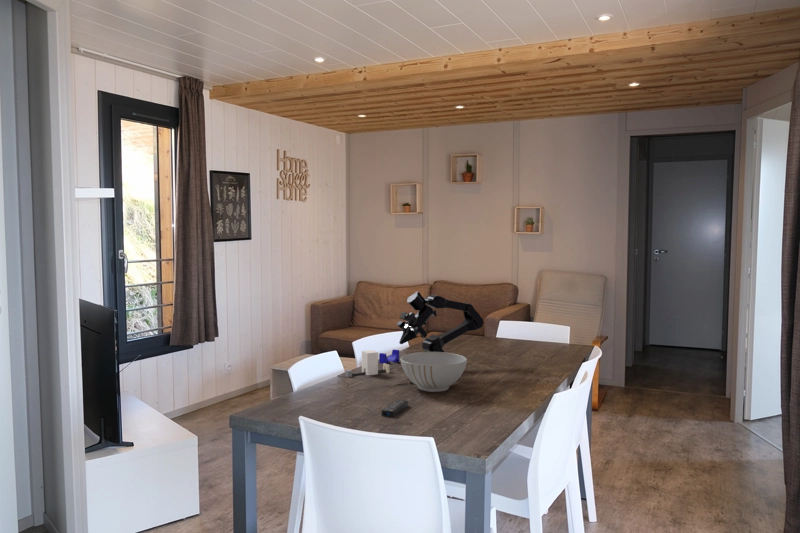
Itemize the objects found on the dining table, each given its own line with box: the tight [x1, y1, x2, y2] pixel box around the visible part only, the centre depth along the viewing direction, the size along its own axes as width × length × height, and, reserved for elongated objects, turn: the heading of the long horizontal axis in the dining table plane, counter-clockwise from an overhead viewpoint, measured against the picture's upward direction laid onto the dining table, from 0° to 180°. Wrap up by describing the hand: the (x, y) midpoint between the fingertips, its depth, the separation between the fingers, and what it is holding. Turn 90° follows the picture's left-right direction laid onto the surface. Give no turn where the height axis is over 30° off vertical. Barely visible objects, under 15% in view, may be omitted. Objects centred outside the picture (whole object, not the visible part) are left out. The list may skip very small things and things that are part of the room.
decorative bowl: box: [399, 351, 468, 393], centre depth 244 cm, size 27×27×12 cm
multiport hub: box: [381, 399, 409, 418], centre depth 212 cm, size 4×14×2 cm, turn 158°
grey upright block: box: [361, 349, 379, 376], centre depth 262 cm, size 5×6×10 cm
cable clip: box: [378, 349, 400, 364], centre depth 288 cm, size 12×4×6 cm, turn 145°
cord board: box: [344, 363, 391, 378], centre depth 262 cm, size 20×10×5 cm, turn 119°
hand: (400, 343), depth 269 cm, fingers closed
